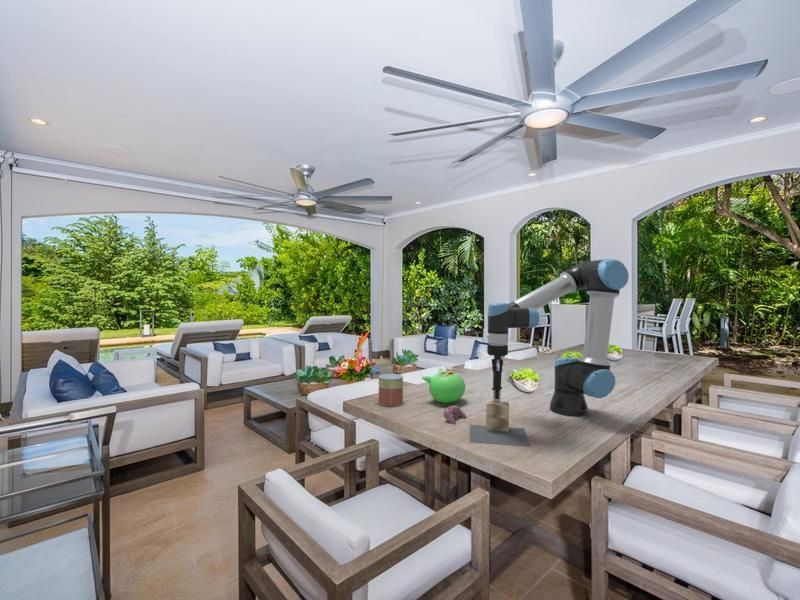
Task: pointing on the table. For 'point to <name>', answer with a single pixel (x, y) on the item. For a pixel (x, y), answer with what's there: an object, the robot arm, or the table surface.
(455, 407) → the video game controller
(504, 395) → the table surface
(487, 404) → the oak tile
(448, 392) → the toy bird
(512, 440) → the rubber mat
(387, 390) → the canned food
